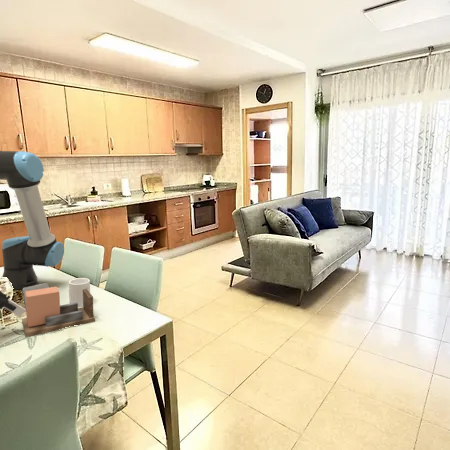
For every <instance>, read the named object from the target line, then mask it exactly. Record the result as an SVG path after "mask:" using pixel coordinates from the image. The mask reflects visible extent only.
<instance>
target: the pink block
mask: <svg viewBox="0 0 450 450" xmlns="http://www.w3.org/2000/svg"><path fill="white" fill-rule="evenodd" d="M25 297H26V308H25V309H26V311H25V313H26V318H27V323H28V327H32V326H36V325H41V324H46V320H45V317H50V316H55V315H60V305H61V303H60V301H61V300H60V299H61V298H60V291H59V289H58V287H57V286H52V287H48V288H44V289H37V290H31V291H25Z"/></svg>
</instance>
